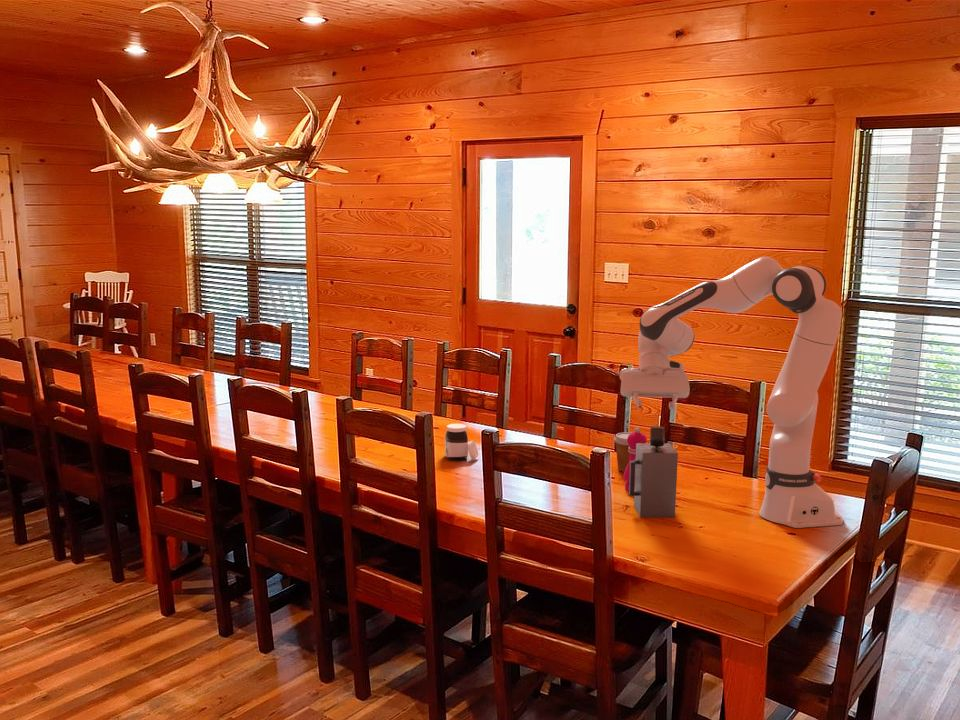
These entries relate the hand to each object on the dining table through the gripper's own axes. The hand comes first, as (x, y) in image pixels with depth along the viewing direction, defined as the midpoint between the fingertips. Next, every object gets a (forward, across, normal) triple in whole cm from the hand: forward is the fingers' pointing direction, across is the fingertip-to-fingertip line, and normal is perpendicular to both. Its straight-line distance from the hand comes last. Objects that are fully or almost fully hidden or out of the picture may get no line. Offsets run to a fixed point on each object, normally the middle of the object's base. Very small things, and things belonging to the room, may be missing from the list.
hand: (655, 407), depth 257 cm
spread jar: (-7, -62, +49) cm, 79 cm away
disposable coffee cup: (-2, -5, +44) cm, 44 cm away
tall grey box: (+26, -1, +16) cm, 30 cm away
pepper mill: (+12, -4, +30) cm, 32 cm away
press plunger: (+20, 0, +10) cm, 22 cm away
